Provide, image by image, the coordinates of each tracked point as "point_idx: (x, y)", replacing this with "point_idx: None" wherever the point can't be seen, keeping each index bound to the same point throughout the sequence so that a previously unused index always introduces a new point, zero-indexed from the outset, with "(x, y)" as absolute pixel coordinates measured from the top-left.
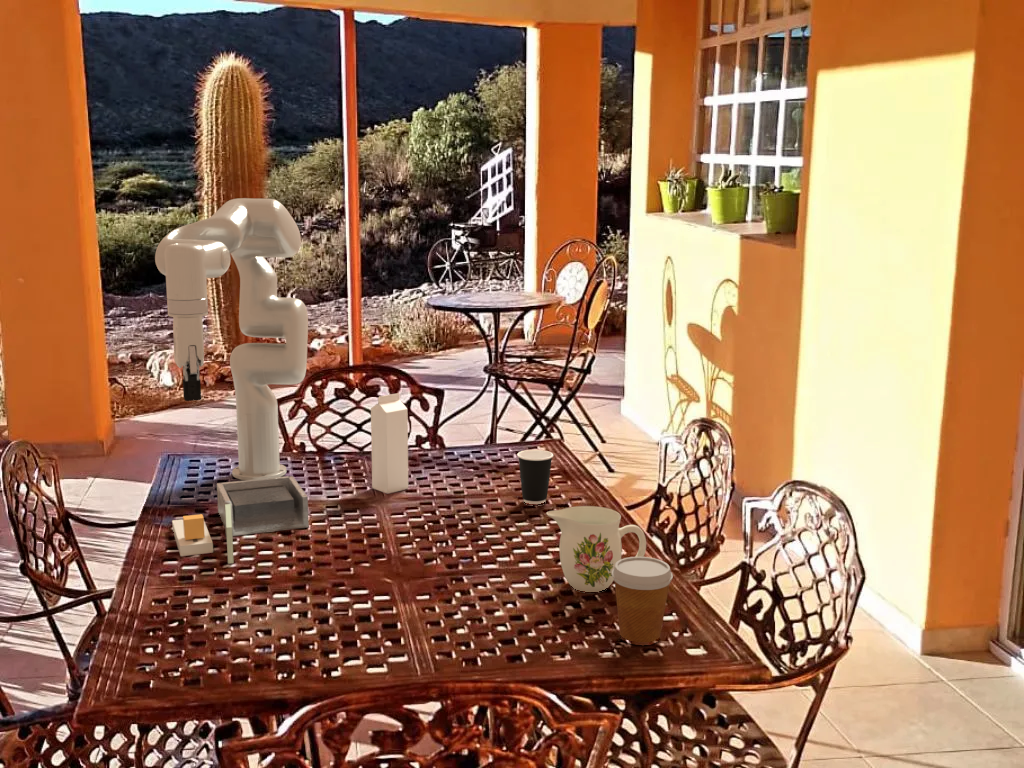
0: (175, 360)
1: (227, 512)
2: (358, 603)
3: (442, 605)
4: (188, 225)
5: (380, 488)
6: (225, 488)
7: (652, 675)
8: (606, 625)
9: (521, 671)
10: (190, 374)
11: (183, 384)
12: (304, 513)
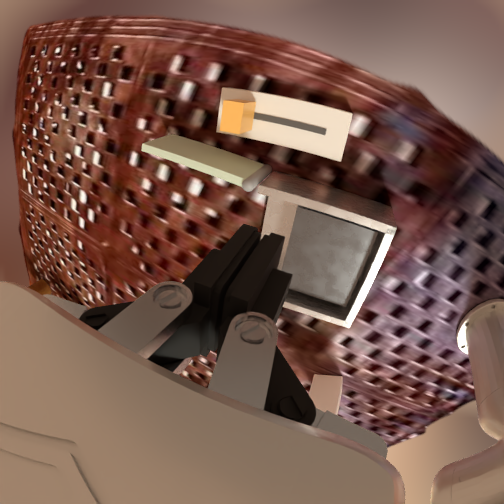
0: (121, 391)
1: (200, 165)
2: (76, 204)
3: (70, 246)
4: None
5: (326, 377)
6: (383, 233)
7: (26, 264)
8: (53, 287)
9: (24, 229)
10: (56, 297)
11: (218, 271)
12: None
